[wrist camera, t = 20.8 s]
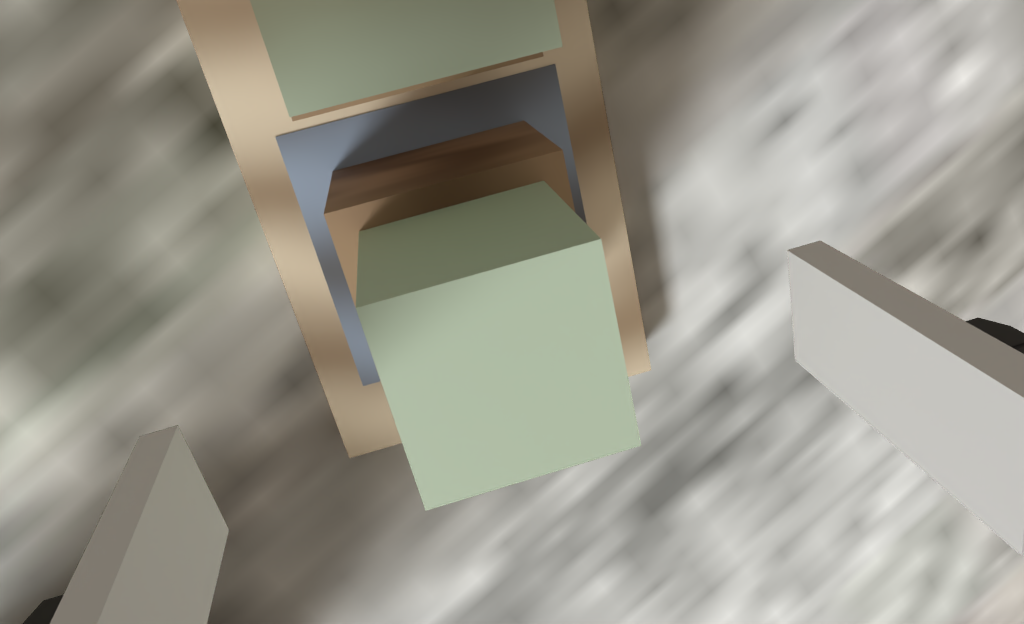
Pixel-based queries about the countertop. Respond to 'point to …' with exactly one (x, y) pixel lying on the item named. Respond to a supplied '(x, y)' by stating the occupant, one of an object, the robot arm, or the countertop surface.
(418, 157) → the walnut block
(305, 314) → the blueprint board
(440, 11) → the tower
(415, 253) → the sage block
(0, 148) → the countertop surface
